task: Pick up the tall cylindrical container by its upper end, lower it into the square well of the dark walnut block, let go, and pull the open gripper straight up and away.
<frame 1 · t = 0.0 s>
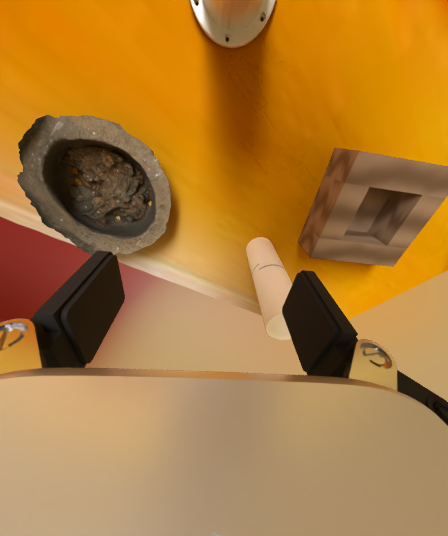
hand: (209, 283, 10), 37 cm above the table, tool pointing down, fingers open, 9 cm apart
walnut well block: (355, 206, 46), on the table
stone bowl: (118, 187, 42), on the table
cylindrical container: (259, 249, 52), on the table
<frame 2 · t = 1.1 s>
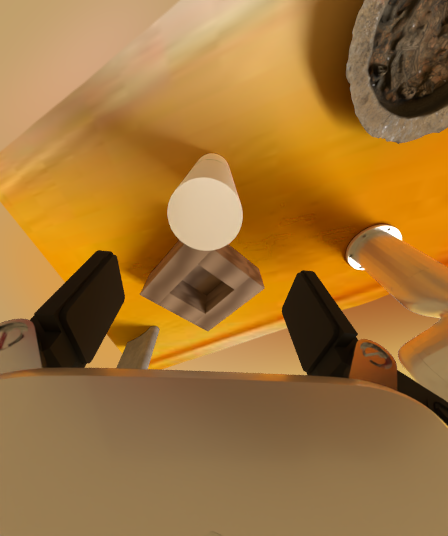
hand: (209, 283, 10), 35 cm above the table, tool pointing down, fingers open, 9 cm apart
walnut well block: (204, 271, 53), on the table
stone bowl: (410, 45, 30), on the table
cylindrical container: (212, 173, 39), on the table
hip flask: (144, 336, 68), on the table
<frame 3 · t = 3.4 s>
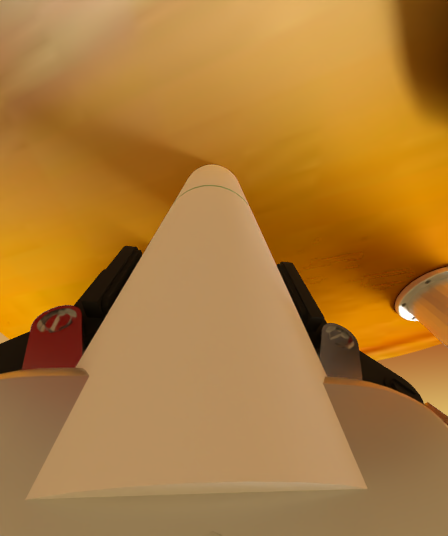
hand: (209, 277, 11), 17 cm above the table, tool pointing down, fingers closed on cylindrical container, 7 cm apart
cylindrical container: (212, 195, 25), on the table, touching gripper
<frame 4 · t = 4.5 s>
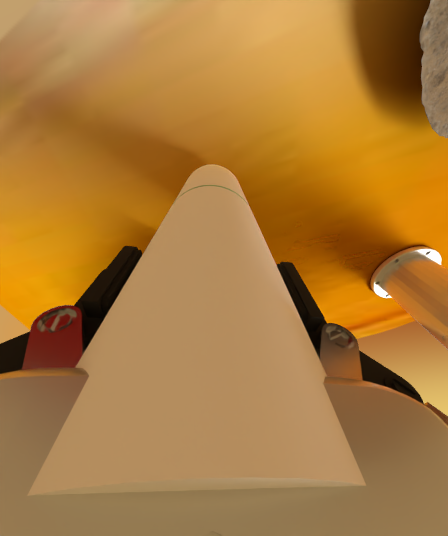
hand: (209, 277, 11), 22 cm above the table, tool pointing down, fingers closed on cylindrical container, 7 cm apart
cylindrical container: (212, 195, 25), point 5 cm above the table, touching gripper
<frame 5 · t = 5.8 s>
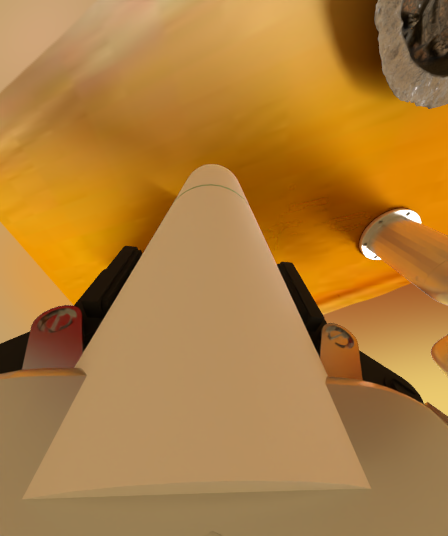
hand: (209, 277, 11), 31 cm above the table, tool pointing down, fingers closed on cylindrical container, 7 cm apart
cylindrical container: (212, 195, 25), point 14 cm above the table, touching gripper
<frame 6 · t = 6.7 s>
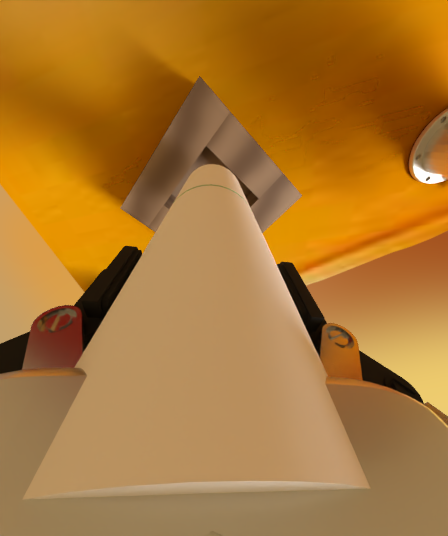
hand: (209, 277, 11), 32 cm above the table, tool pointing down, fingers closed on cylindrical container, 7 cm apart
walnut well block: (211, 190, 38), on the table
cylindrical container: (212, 195, 25), point 15 cm above the table, touching gripper
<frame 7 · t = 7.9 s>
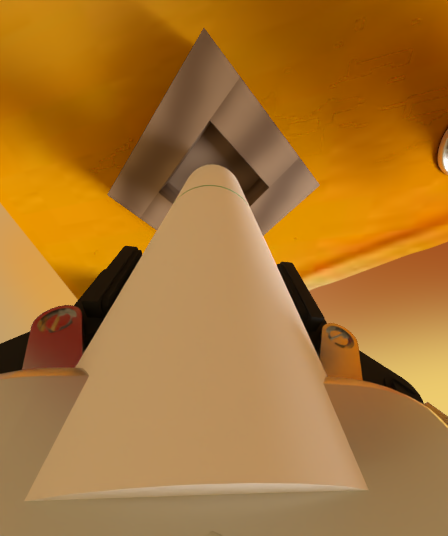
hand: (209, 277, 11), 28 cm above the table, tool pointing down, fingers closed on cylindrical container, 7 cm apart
walnut well block: (214, 178, 34), on the table
cylindrical container: (212, 195, 25), point 11 cm above the table, touching gripper
when the fingers open (19 cm above the table, at t = 9.9 s): cylindrical container drops 1 cm, resting on walnut well block.
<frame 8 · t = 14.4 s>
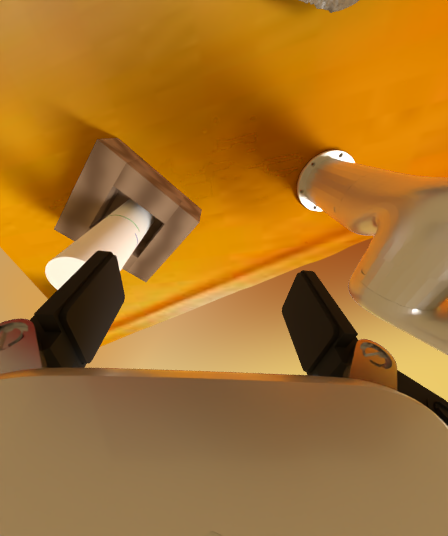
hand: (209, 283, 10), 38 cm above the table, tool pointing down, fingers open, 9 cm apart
walnut well block: (139, 212, 46), on the table
cylindrical container: (139, 213, 46), point 1 cm above the table, touching walnut well block
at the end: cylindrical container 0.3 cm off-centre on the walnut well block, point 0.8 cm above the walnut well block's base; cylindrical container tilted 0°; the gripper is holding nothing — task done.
